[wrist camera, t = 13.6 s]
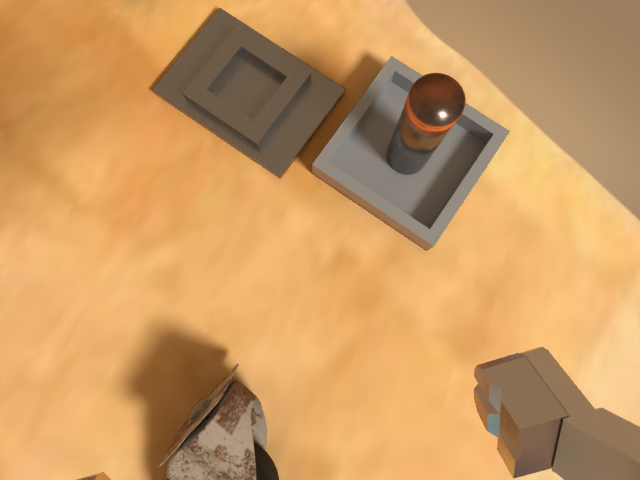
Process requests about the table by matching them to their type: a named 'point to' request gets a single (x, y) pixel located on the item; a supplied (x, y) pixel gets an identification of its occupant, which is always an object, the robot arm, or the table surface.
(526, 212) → the table surface
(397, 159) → the pin
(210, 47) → the collar plate
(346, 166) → the tray
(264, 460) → the caster wheel
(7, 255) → the table surface
